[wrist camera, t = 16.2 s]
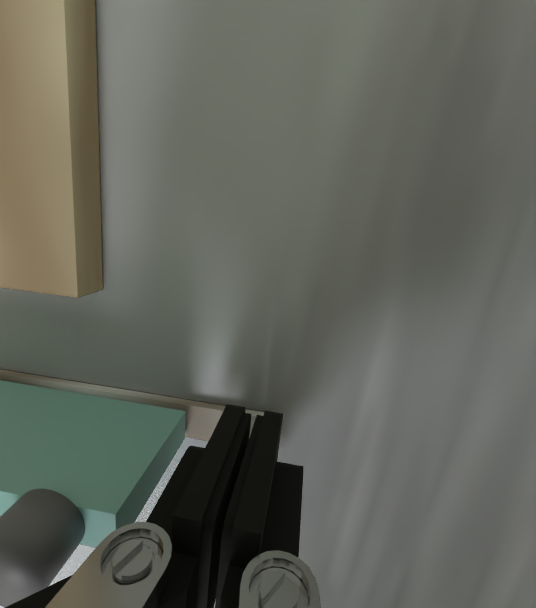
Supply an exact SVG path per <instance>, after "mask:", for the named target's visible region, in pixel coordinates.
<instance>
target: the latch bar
mask: <svg viewBox="0 0 536 608" xmlns="http://www.w3.org/2000/svg"><path fill="white" fill-rule="evenodd" d="M185 418H186V411H182V410H176V409H170V408H164V407H158V406H152V405H146V404H140V403H134V402H128V401H122V400H116V399H110V398H104V397H98V396H92V395H86V394H80V393H74V392H68V391H62V390H56V389H50V388H44V387H38V386H32V385H26V384H20V383H13V382H7V381H1V380H0V605H1V606H4V607H7V606H9V605H11V604H13V603H15V602H17V601H20V600H22V599H24V598H26V597H28V596H30V595H32V594H34V593H36V592H38V591H40V590H42V589H44V588H47V587H48V586H49V585H50V583H51V582H52V580H53V579H54V578H55V576H56V575H57V574H58V572H59V571H60V569H61V568H62V567H63V565H64V564H65V563H66V561H67V560H68V558H69V557H70V556H71V554H72V553H73V552H74V550H75V549H76V548H77V546H78V545H79V544H81V545H86V546H90V547H95V548H96V547H97V546H98V545H99V544H100V543H101V542H102V541H103V540H104V539H105V538H106V537H107V536H108V535H109V534H110V533H111V532H113V531H115V530H116V529H118V528H120V527H122V526H124V525H128V524H131V523H134V522H135V520H136V519H137V517H138V515H139V514H140V512H141V510H142V509H143V507H144V505H145V504H146V502H147V500H148V499H149V497H150V495H151V494H152V492H153V490H154V489H155V487H156V485H157V484H158V482H159V480H160V479H161V477H162V475H163V474H164V472H165V470H166V469H167V467H168V465H169V464H170V462H171V460H172V459H173V457H174V455H175V454H176V452H177V450H178V449H179V447H180V445H181V444H182V442H183V440H184V439H185Z"/></svg>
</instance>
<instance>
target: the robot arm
mask: <svg viewBox="0 0 536 608" xmlns="http://www.w3.org/2000/svg"><path fill="white" fill-rule="evenodd" d="M245 411H246V410H245V407H240V406H234V405H228V404H227V405H226V407H225V409H224V411H223V413H222V415H221V417H220V419H219V421H218V423H217V425H216V427H215V429H214V431H213V433H212V436H211V438H210V440H209V442H208V444H207V446H206V448H201V447H196V446H189V447H188V449H187V450H186V452H185V454H184V455H183V457H182V459H181V461H180V463H179V464H178V466H177V468H176V470H175V471H174V473H173V475H172V477H171V479H170V480H169V482H168V484H167V486H166V488H165V489H164V491H163V493H162V495H161V496H160V498H159V500H158V502H157V504H156V505H155V507H154V509H153V511H152V512H151V514H150V516H149V518H148V520H147V521H146V522H135V523H131V524H128V525H124V526H122V527H120V528H118V529H116V530H115V531H113V532H111V533H110V534H109V535H108V536H107V537H106V538H105V539H104V540H103V541H102V542H101V543H100V544H99V545H98V546H97V547H96V549H95V550H94V551H93V552H92V553H91V554H90V556H89V557H88V558H87V559H86V560H85V561H84V563H83V564H82V565H81V566H80V567H79V568H78V570H77V571H76V572H75V573H74V574H73V575H72V576H69V577H67V578H65V579H63V580H61V581H59V582H57V583H55V584H53V585H51V586H49V587H47V588H44V589H42V590H40V591H38V592H36V593H34V594H32V595H30V596H28V597H26V598H24V599H22V600H20V601H17V602H15V603H13V604H11V605H9V606H7V607H5V608H213V607H214V603H215V599H216V604H215V608H321V601H320V594H319V589H318V585H317V582H316V579H315V576H314V575H313V573H312V572H311V570H310V568H309V567H308V566H307V565H306V564H305V563H304V562H303V561H302V560H301V559H300V558H298V555H299V537H300V520H301V502H302V484H303V466H298V465H292V464H287V463H282V462H277V457H278V449H279V441H280V434H281V426H282V419H283V414H281V413H275V412H269V411H265V412H264V415H263V416H262V415H256V418H255V422H254V425H253V428H252V431H251V435H250V426H251V413H245ZM249 435H250V438H249Z"/></svg>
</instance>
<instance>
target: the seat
mask: <svg viewBox="0 0 536 608" xmlns="http://www.w3.org/2000/svg"><path fill="white" fill-rule="evenodd" d="M0 287H1V288H8V289H16V290H23V291H31V292H38V293H46V294H53V295H61V296H68V297H75V298H79V297H82V296H85V295H87V294H90V293H93V292H96V291H99V290H102V289H103V275H102V238H101V200H100V163H99V125H98V88H97V50H96V13H95V0H0ZM0 380H1V381H7V382H13V383H20V384H26V385H32V386H38V387H44V388H50V389H56V390H62V391H68V392H74V393H80V394H86V395H92V396H98V397H104V398H110V399H116V400H122V401H128V402H134V403H140V404H146V405H152V406H158V407H164V408H170V409H176V410H182V411H186V418H185V437H188V438H194V439H200V440H205V441H209V440H210V438H211V436H212V433H213V431H214V429H215V427H216V425H217V423H218V421H219V419H220V417H221V415H222V413H223V411H224V409H225V407H226V406H223V405H217V404H211V403H204V402H198V401H192V400H186V399H180V398H174V397H167V396H161V395H155V394H149V393H143V392H137V391H131V390H124V389H118V388H112V387H106V386H100V385H94V384H87V383H81V382H75V381H69V380H63V379H57V378H51V377H44V376H38V375H32V374H26V373H20V372H14V371H7V370H1V369H0ZM245 410H246V411H245V413H251V426H250V435H251V431H252V428H253V425H254V422H255V418H256V415H262V416H263V415H264V412H260V411H254V410H248V409H245ZM250 435H249V438H250Z"/></svg>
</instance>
